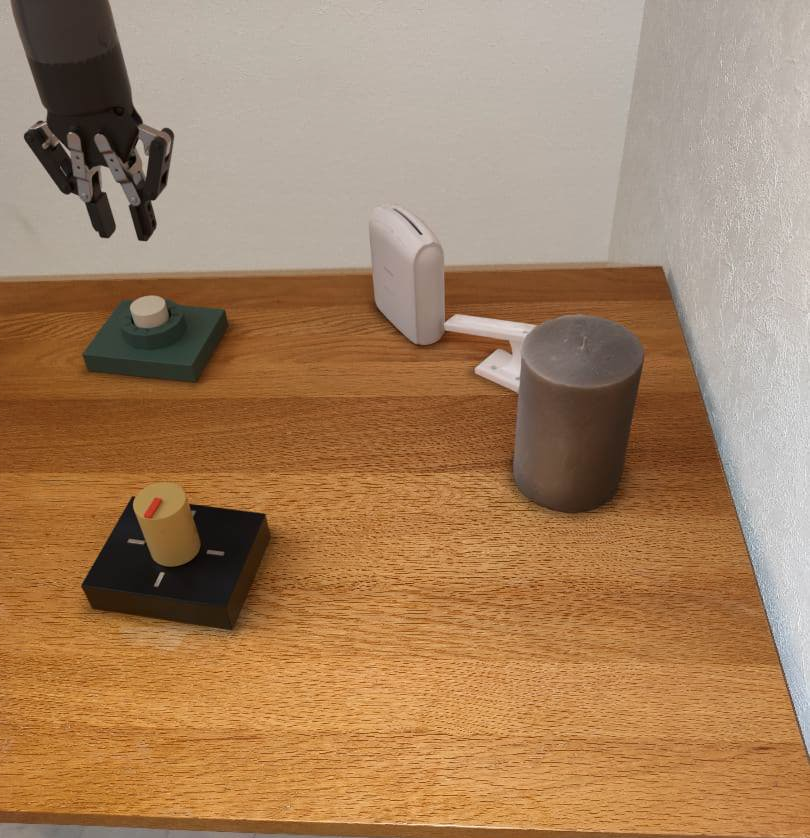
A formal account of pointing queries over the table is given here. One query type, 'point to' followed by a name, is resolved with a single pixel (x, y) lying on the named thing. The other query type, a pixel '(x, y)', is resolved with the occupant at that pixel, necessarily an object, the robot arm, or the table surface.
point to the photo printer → (408, 273)
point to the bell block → (157, 343)
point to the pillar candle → (575, 410)
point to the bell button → (149, 312)
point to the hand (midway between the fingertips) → (127, 234)
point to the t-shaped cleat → (499, 363)
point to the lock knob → (167, 523)
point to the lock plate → (181, 570)
